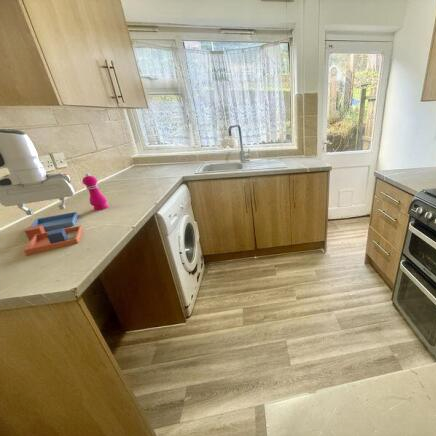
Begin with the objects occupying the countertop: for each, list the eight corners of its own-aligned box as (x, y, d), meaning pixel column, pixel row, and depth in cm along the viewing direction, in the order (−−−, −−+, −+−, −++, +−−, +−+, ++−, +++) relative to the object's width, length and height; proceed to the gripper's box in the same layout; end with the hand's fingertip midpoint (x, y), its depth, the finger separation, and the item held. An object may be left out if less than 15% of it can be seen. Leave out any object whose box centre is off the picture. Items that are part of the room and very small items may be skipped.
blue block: (51, 245, 96) (46, 235, 94) (53, 240, 100) (49, 230, 98) (66, 242, 98) (61, 232, 97) (67, 237, 102) (63, 228, 100)
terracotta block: (29, 240, 101) (24, 231, 100) (32, 236, 105) (27, 227, 103) (44, 237, 104) (39, 228, 102) (46, 233, 107) (42, 224, 105)
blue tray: (29, 235, 106) (27, 230, 105) (38, 223, 118) (36, 218, 116) (74, 226, 113) (72, 221, 112) (78, 216, 125) (76, 211, 124)
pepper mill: (112, 207, 135) (98, 171, 127) (98, 212, 129) (82, 175, 121) (104, 205, 138) (90, 171, 130) (90, 210, 132) (74, 174, 124)
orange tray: (26, 256, 90) (23, 250, 89) (37, 240, 102) (34, 234, 101) (78, 244, 97) (76, 238, 96) (83, 230, 109) (81, 225, 108)
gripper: (68, 170, 96) (81, 203, 102) (-6, 179, 86) (13, 215, 92) (65, 173, 91) (79, 207, 97) (-14, 183, 81) (7, 220, 87)
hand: (47, 211), depth 94 cm, fingers open, 8 cm apart
